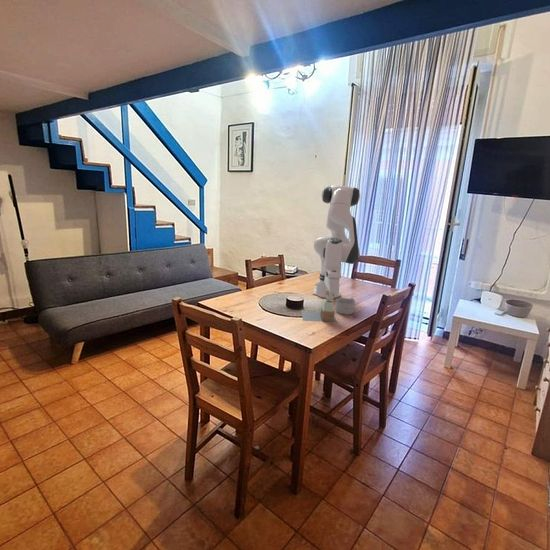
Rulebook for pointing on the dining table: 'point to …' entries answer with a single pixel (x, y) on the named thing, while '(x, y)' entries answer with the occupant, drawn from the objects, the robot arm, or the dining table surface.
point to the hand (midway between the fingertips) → (329, 296)
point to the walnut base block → (327, 315)
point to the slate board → (313, 316)
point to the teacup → (345, 306)
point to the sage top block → (328, 305)
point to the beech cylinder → (327, 295)
